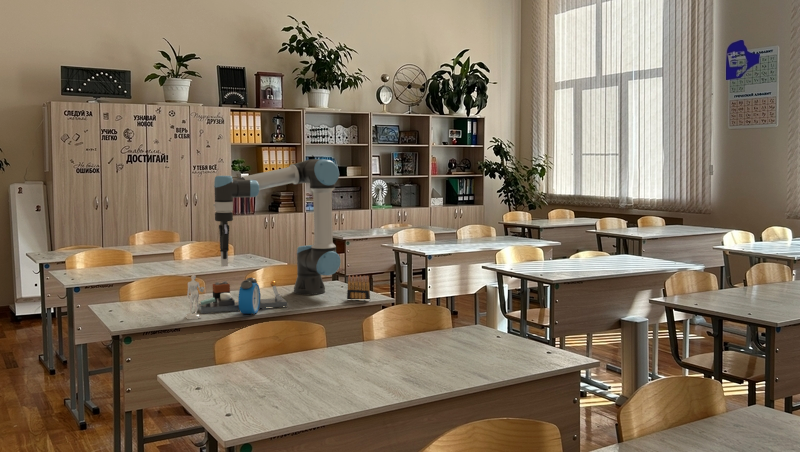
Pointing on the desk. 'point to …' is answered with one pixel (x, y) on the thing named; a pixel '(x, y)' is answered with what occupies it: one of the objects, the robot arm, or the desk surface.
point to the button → (225, 296)
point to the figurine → (194, 293)
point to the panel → (234, 305)
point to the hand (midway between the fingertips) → (224, 266)
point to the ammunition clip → (356, 292)
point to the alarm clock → (249, 296)
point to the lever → (274, 288)
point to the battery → (220, 289)
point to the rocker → (207, 301)
